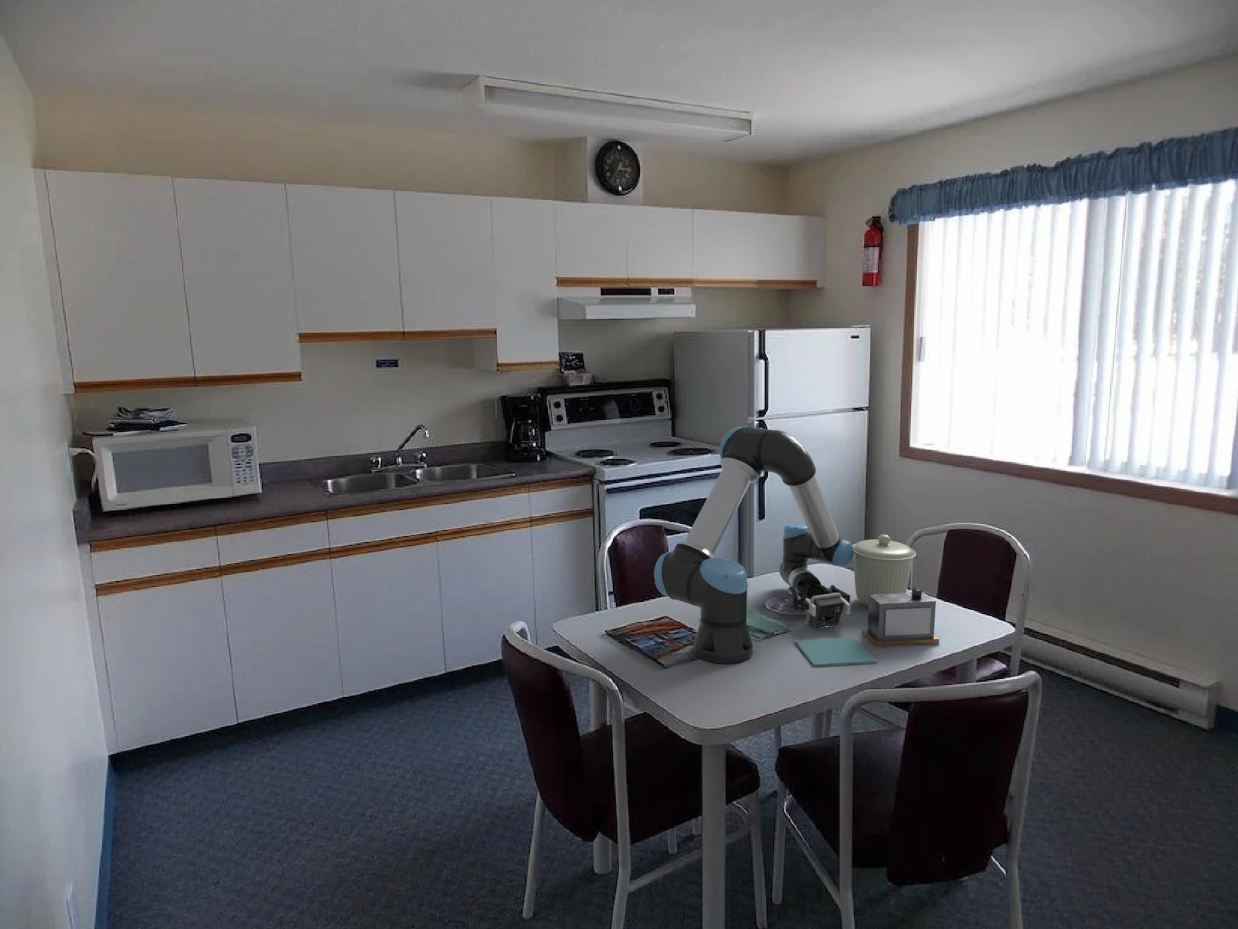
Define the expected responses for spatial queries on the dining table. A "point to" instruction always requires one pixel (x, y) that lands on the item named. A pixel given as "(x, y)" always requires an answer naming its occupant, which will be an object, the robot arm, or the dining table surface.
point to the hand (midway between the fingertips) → (831, 610)
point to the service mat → (835, 652)
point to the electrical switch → (826, 610)
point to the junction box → (901, 619)
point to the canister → (881, 567)
